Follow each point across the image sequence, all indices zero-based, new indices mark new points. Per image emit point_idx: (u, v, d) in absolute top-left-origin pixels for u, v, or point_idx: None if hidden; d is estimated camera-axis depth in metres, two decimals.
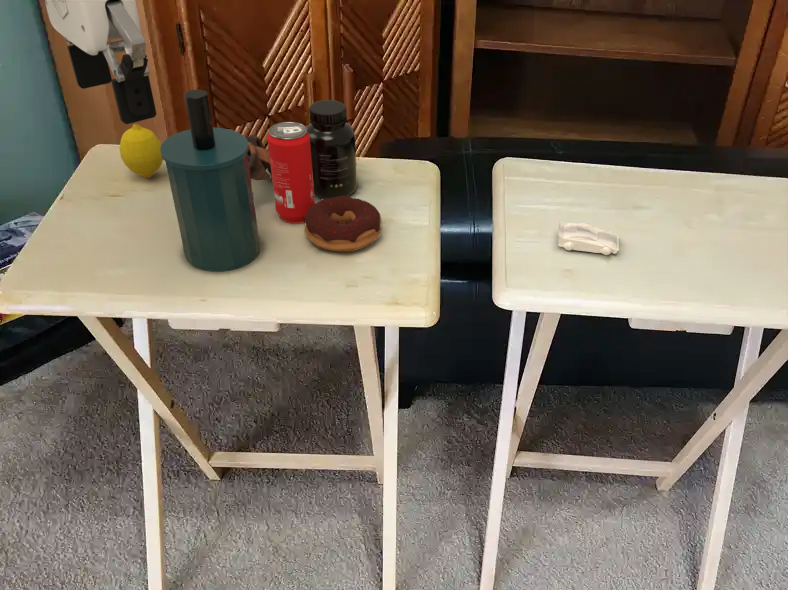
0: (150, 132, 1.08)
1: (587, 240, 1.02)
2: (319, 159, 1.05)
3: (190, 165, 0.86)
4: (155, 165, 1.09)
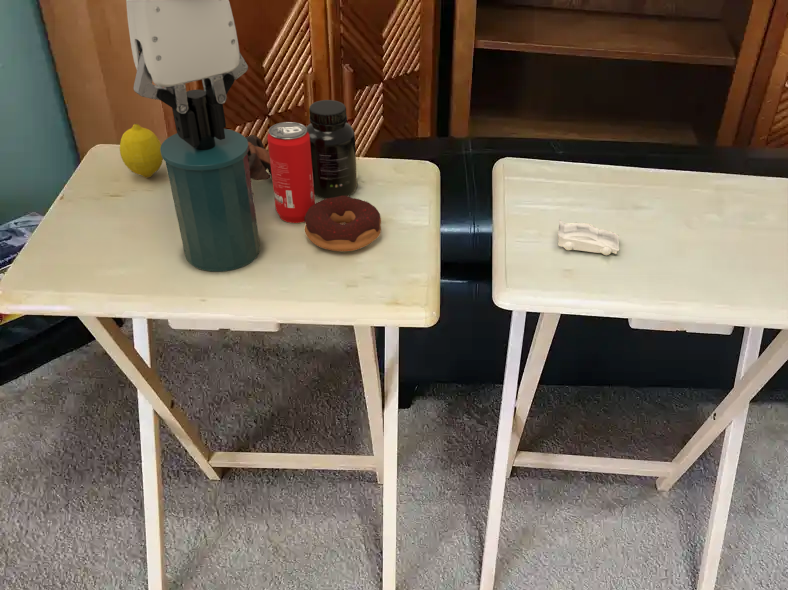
0: (150, 132, 1.08)
1: (587, 240, 1.02)
2: (319, 159, 1.05)
3: (190, 165, 0.86)
4: (155, 165, 1.09)
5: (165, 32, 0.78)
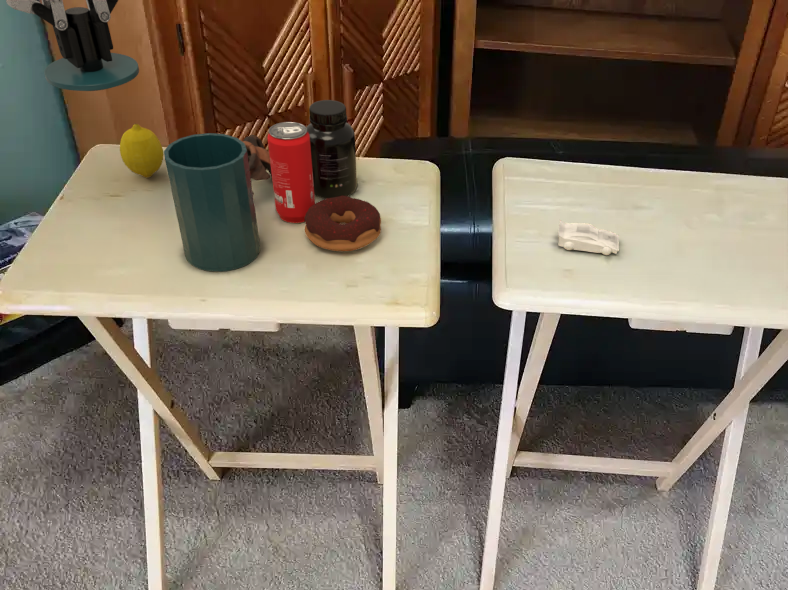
0: (150, 132, 1.08)
1: (587, 240, 1.02)
2: (319, 159, 1.05)
3: (72, 85, 0.83)
4: (155, 165, 1.09)
5: None
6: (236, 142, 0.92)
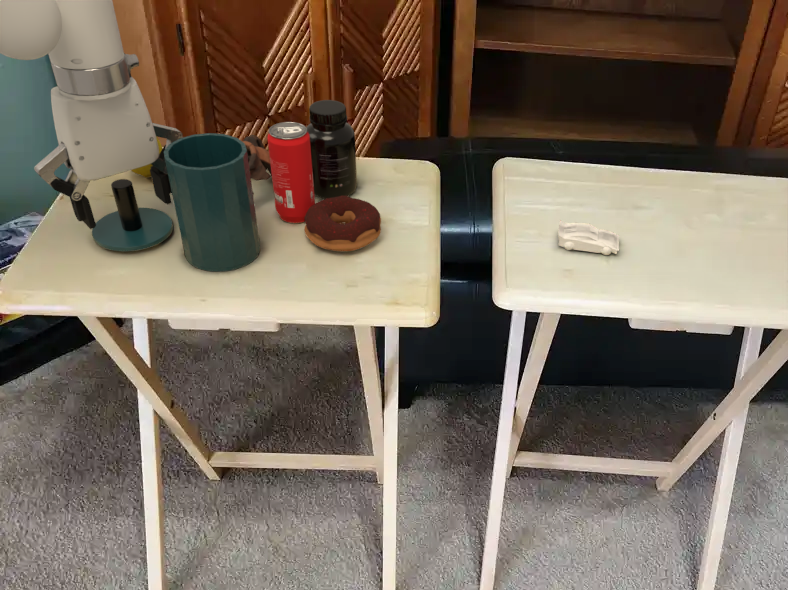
0: None
1: (587, 240, 1.02)
2: (319, 159, 1.05)
3: (117, 247, 0.96)
4: None
5: (86, 136, 0.88)
6: (236, 142, 0.92)
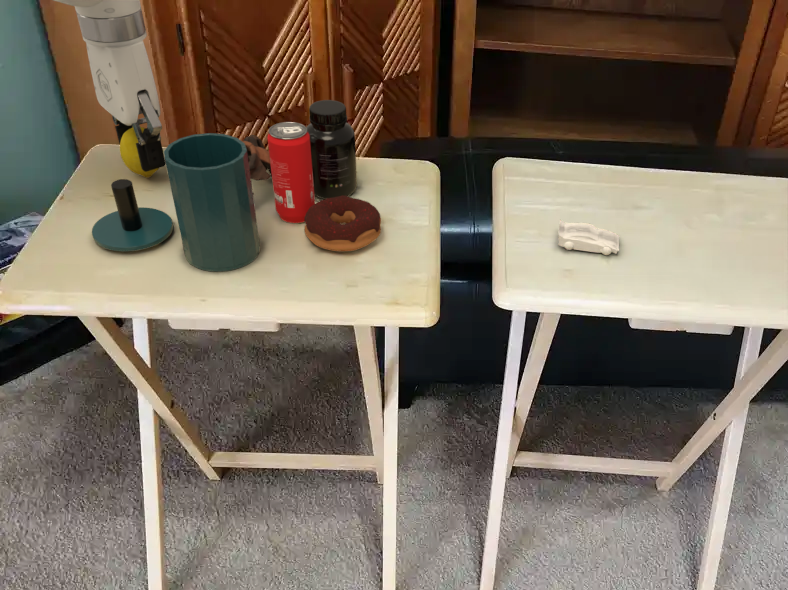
0: None
1: (587, 240, 1.02)
2: (319, 159, 1.05)
3: (117, 247, 0.96)
4: None
5: None
6: (236, 142, 0.92)
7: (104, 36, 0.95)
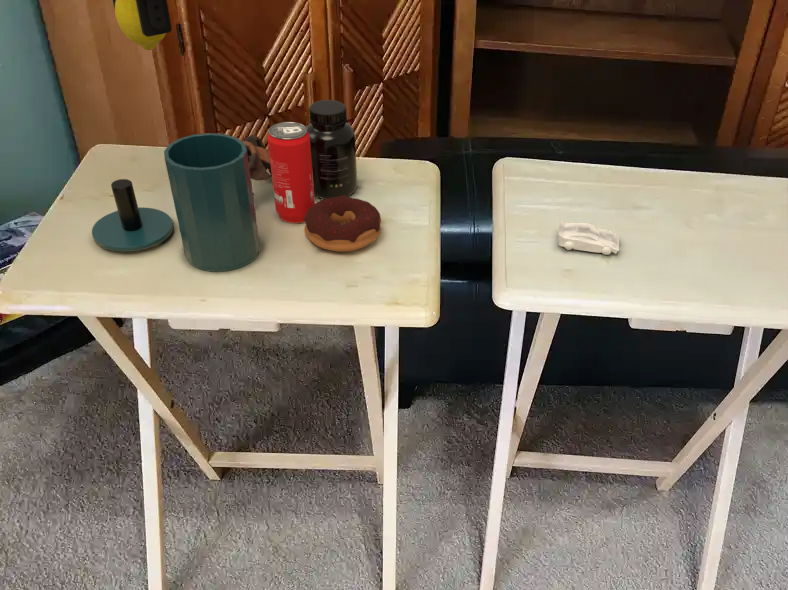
0: None
1: (587, 240, 1.02)
2: (319, 159, 1.05)
3: (117, 247, 0.96)
4: None
5: None
6: (236, 142, 0.92)
7: None
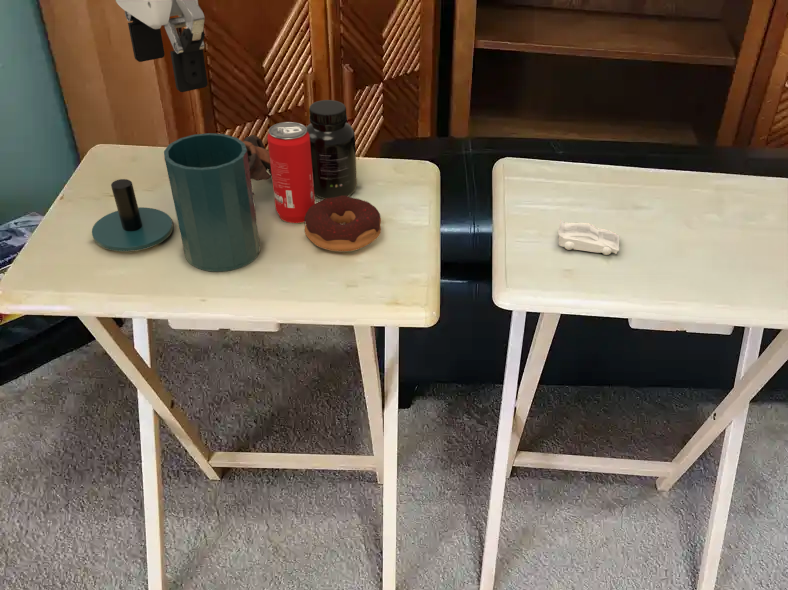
0: None
1: (587, 240, 1.02)
2: (319, 159, 1.05)
3: (117, 247, 0.96)
4: None
5: None
6: (236, 142, 0.92)
7: None
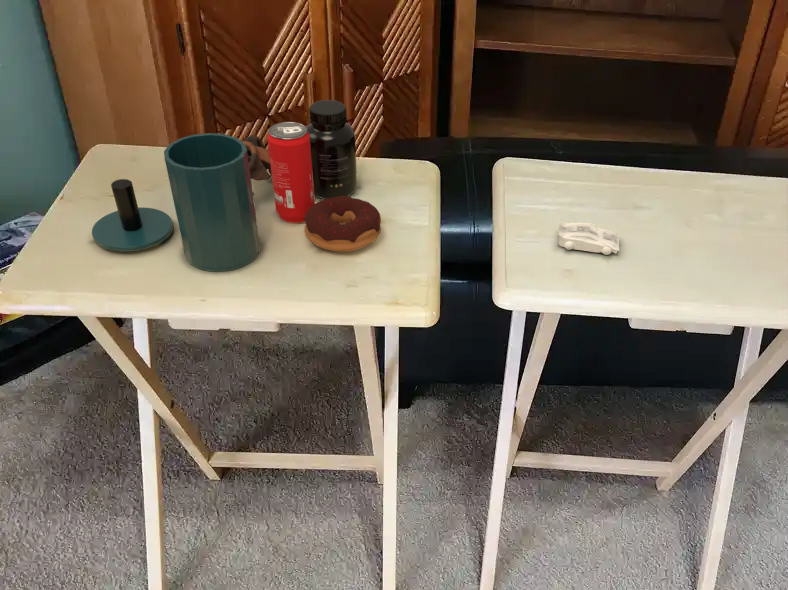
0: None
1: (587, 240, 1.02)
2: (319, 159, 1.05)
3: (117, 247, 0.96)
4: None
5: None
6: (236, 142, 0.92)
7: None
